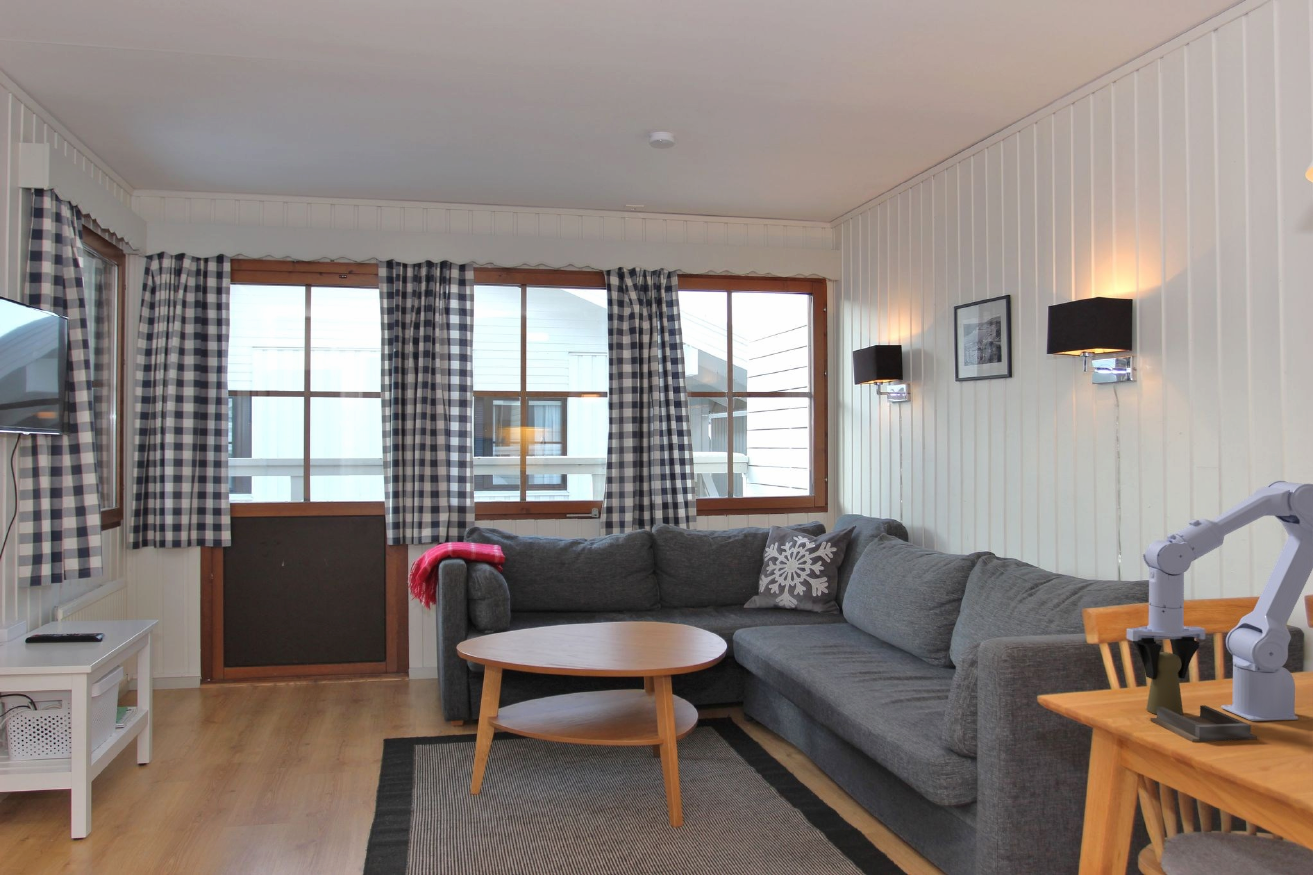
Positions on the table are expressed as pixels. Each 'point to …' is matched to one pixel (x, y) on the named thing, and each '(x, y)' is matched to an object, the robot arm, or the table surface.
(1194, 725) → the shaker socket
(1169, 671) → the olive rounded tapered post
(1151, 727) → the table surface
